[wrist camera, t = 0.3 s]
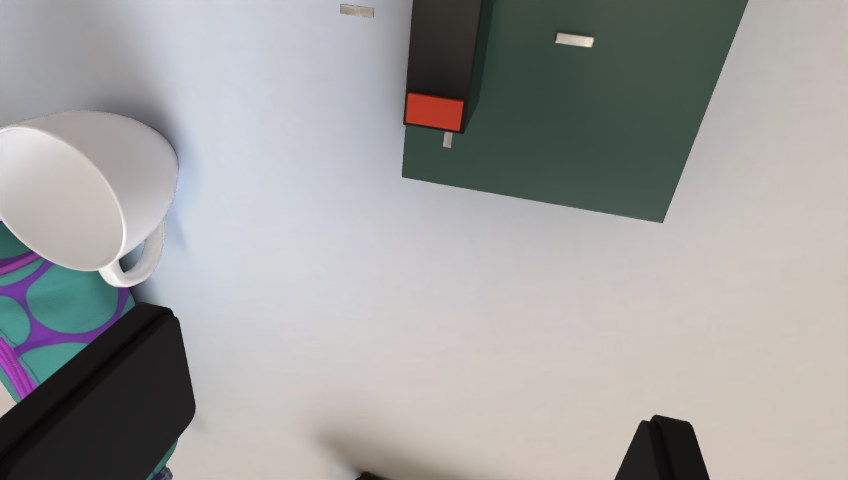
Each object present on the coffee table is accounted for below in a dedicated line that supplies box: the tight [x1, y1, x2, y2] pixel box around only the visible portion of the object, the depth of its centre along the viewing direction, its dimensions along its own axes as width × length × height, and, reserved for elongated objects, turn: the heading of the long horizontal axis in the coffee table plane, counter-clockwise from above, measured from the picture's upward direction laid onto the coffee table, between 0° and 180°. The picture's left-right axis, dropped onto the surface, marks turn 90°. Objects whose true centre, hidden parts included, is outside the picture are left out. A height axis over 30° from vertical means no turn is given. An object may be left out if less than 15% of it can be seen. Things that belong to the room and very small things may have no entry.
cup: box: [0, 110, 178, 287], centre depth 28 cm, size 8×10×7 cm
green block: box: [340, 0, 748, 223], centre depth 21 cm, size 14×15×3 cm
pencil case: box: [0, 221, 178, 480], centre depth 34 cm, size 21×9×10 cm, turn 2°
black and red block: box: [403, 0, 494, 134], centre depth 18 cm, size 6×2×5 cm, turn 174°
